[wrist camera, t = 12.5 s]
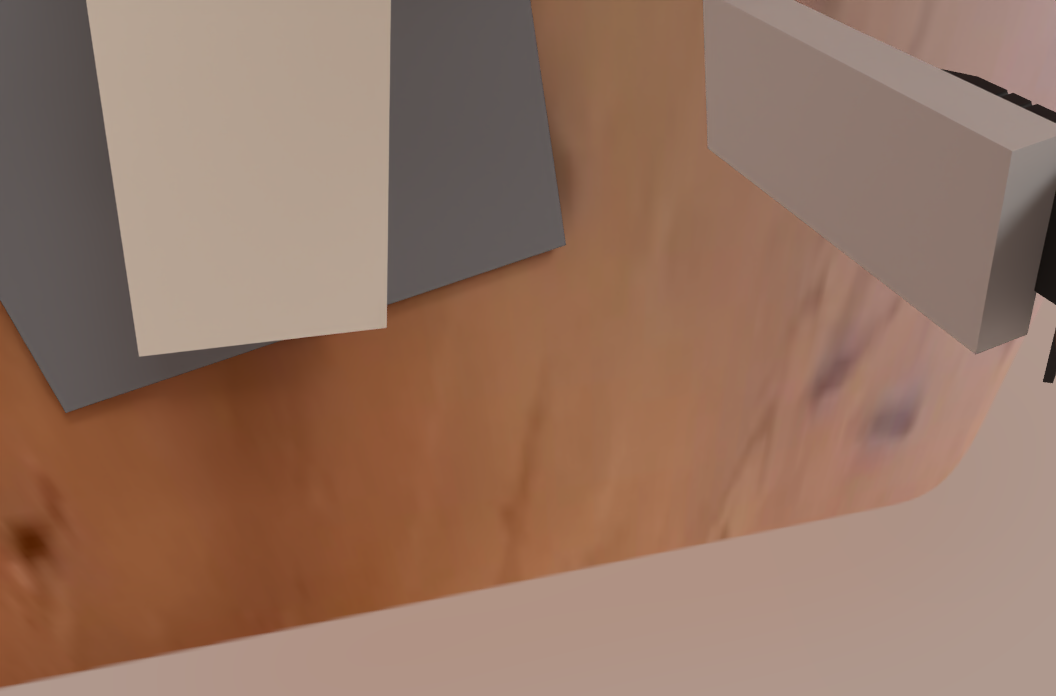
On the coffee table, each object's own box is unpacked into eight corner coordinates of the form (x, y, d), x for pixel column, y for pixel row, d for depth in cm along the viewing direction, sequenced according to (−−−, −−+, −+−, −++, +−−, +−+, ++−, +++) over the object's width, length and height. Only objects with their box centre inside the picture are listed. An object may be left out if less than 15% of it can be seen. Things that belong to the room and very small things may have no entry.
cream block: (126, 215, 29) (139, 356, 23) (44, -356, 22) (30, -372, 16) (325, 201, 31) (386, 327, 25) (313, -324, 24) (395, -328, 18)
